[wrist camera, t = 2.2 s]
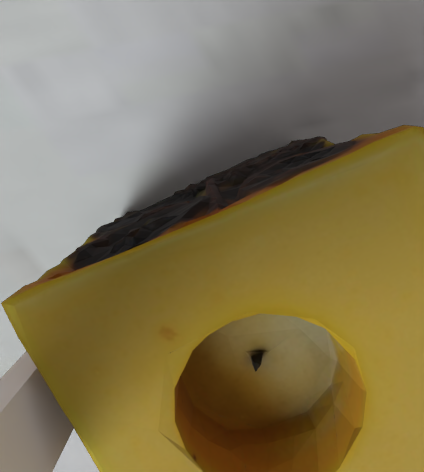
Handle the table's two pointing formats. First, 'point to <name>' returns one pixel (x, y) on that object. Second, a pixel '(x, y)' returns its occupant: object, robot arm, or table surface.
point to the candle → (249, 318)
